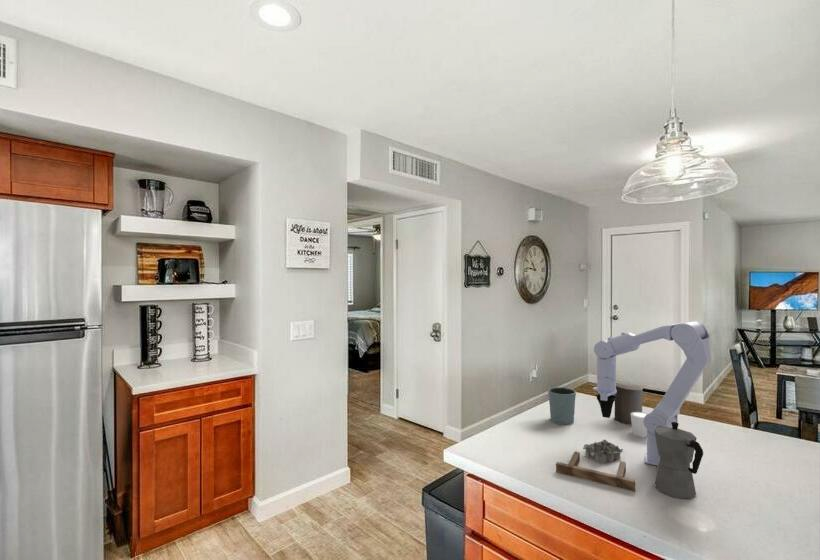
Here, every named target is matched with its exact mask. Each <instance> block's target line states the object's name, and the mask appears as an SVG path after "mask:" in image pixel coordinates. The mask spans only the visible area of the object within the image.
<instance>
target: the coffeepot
mask: <svg viewBox="0 0 820 560" xmlns="http://www.w3.org/2000/svg"><path fill="white" fill-rule="evenodd" d="M671 424H672V428H669V427H665V426H656V427H657V429H654V431H655V437H656V444H657V450H658V454H659V456H660V462H659V464H658V466H657V468H656V469H657V470H656V474H655V479H654V485H655V488H656V489H657V490H658V491H659V492H660V493H662V494H664V495H666V496H668V497H671V498H675V499H679V500H680V499H681V500H690V499H693V498H694V497H695V496H697V492H696V487H695V481H694V477H693V474H694V475H696V474H697V473H698V470H699V468H700V465H701V462H702V458H703V456H704V450H703V448H702V446H701V445H700V443H699V442H698V441H697V437H696V435H694V434H693V433H692V432H690V431H687V430H684V429H682V428H681V429H680V428H679V423H678V422H671ZM693 457H694V458H693ZM691 463H692V465H691ZM691 466H692V467H691Z"/></svg>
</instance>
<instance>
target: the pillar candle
mask: <svg viewBox="0 0 820 560" xmlns="http://www.w3.org/2000/svg"><path fill="white" fill-rule="evenodd" d="M616 390H617V393H616V394H615V395H616V399H615V401H614V410H613V411H614V413H613V414H614V420H615V422H618V423H620V424H623V425H624V424H625V425H630V426H632V423H631V413H632V412H643V391H644V389H643V386H641V385H638V384H634V383H630V382H616Z"/></svg>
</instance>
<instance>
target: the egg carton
mask: <svg viewBox="0 0 820 560" xmlns="http://www.w3.org/2000/svg"><path fill="white" fill-rule="evenodd" d="M582 449H583V450H585V454H584V455H585V457H586V458H587V459H592V460H595V461H594V463H596V464H597V463H598V464H606V463H607V461H608V462H613V461H614V459H617V460H620V459H621V453H623V451H624V448H621V449H620V447H619V445H615V444H614V443H612V442H609V441H608V440H606V439H603V440H601V441H595V442H594V443H590V444H589V443H588V444H586V443H585V444H584V445H583V448H582Z"/></svg>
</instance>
